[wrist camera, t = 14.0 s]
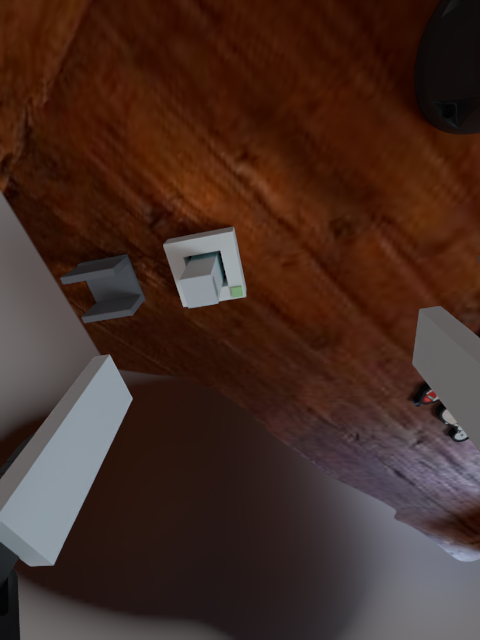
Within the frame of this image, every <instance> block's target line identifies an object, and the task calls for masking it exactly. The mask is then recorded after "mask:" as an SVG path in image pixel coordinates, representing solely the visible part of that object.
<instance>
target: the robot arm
mask: <svg viewBox="0 0 480 640" xmlns="http://www.w3.org/2000/svg"><path fill="white" fill-rule="evenodd" d="M415 90H416V96H417V100H418V103H419V106H420V108H421V110H422V112H423V114H424V115H425V117H426V118H427V119H428V121H429V122H430V123H431V124H433V125H434V126H435V127H437V128H438V129H440V130H442V131H445V132H448V133H452V134H474V133H480V0H441V2H440V3H439V5H438V6H437V8H436V9H435V11H434V13H433V15H432V17H431V19H430V20H429V22H428V25H427V27H426V29H425V32H424V34H423V37H422V40H421V43H420V46H419V50H418V54H417V59H416V65H415ZM479 263H480V255H479ZM412 364H413V365H414V367H415V368H416V369H417V371H418V372H419V373H420V374H421V376H422V377H423V378H424V380H425V381H426V382H427V384H428V385H429V386H430V388H431V389H432V390H433V391H434V393H435V394H436V395H437V397H438V398H439V399H440V401H441V402H442V403H443V405H444V406H445V407H446V408H447V410H448V411H449V412H450V414H451V415H452V416H453V418H454V419H455V420H456V422H457V423H458V424H459V425H460V427H461V428H462V429H463V431H464V432H465V433H466V435H467V436H468V437H469V438H470V440H471V441H472V442H473V444H474V445H475V446H476V448H477V449H478V450H479V452H480V338H479V337H478V336H477V335H475V334H474V333H473V332H472V331H470V330H469V329H468V328H467V327H466V326H464V325H463V324H462V323H461V322H459V321H458V320H457V319H456V318H454V317H453V316H452V315H451V314H450V313H448V312H447V311H446V310H445V309H443V308H442V307H441V306H438V307H431V308H424V309H419V317H418V324H417V332H416V339H415V347H414V354H413V362H412ZM131 401H132V396H131V394H130V393H129V391H128V389H127V387H126V385H125V383H124V381H123V379H122V377H121V375H120V374H119V372H118V370H117V368H116V366H115V364H114V362H113V360H112V358H111V356H110V355H103V356H96V357H93V359H92V360H91V361H90V362H89V364H88V365H87V366H86V368H85V369H84V370H83V372H82V373H81V374H80V376H79V377H78V378H77V380H76V381H75V382H74V384H73V385H72V386H71V388H70V389H69V390H68V391H67V393H66V394H65V395H64V397H63V398H62V399H61V401H60V402H59V403H58V404H57V406H56V407H55V408H54V410H53V411H52V412H51V414H50V415H49V416H48V418H47V419H46V420H45V421H44V423H43V424H42V425H41V427H40V428H39V429H38V431H37V432H36V433H34V434H32V435H31V436H30V437H29V438H27V439H26V440H25V441H24V442H23V443H22V444H21V445H19V446H18V448H17V449H16V450H15V451H14V453H13V454H12V455H11V456H10V458H9V459H8V460H7V463H6V464H4V465H3V466H2V468H1V469H0V640H20V627H19V601H18V577H17V574H16V571H15V570H14V569H12V568H13V567H14V565H15V563H16V561H17V560H18V558H20V559H22V560H23V561H24V562H25V563H27V564H28V565H29V566H45V565H53V564H54V563H55V560H56V558H57V556H58V554H59V552H60V550H61V548H62V546H63V543H64V542H65V539H66V537H67V535H68V533H69V531H70V529H71V526H72V525H73V523H74V520H75V518H76V516H77V514H78V512H79V510H80V508H81V506H82V504H83V502H84V500H85V497H86V495H87V493H88V491H89V489H90V487H91V485H92V483H93V481H94V479H95V476H96V474H97V472H98V470H99V468H100V466H101V463H102V462H103V460H104V458H105V455H106V453H107V451H108V449H109V447H110V445H111V443H112V441H113V439H114V437H115V435H116V432H117V430H118V428H119V426H120V424H121V422H122V420H123V418H124V416H125V413H126V411H127V409H128V407H129V405H130V403H131Z"/></svg>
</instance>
